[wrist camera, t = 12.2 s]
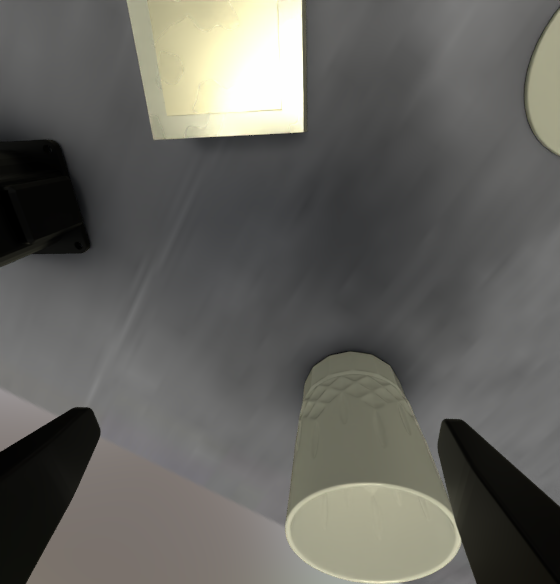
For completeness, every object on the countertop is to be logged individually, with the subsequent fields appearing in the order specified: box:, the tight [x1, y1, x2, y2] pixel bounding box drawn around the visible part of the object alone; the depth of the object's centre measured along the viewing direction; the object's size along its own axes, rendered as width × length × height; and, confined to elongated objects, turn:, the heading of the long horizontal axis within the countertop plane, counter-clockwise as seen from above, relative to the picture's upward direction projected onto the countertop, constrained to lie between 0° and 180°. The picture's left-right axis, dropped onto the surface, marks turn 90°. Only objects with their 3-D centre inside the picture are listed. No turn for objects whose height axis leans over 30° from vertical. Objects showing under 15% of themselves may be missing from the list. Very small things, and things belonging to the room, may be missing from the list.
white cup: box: [285, 351, 461, 584], centre depth 20 cm, size 8×8×10 cm
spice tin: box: [127, 0, 307, 140], centre depth 14 cm, size 6×6×5 cm
